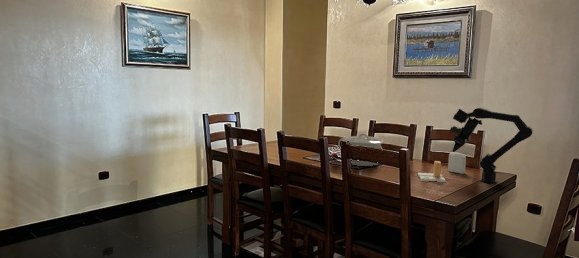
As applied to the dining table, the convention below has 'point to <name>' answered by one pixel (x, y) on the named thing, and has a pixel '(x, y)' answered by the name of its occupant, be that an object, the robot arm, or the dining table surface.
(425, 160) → the dining table surface
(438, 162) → the switch knob
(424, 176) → the switch panel
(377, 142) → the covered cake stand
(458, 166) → the photo printer
